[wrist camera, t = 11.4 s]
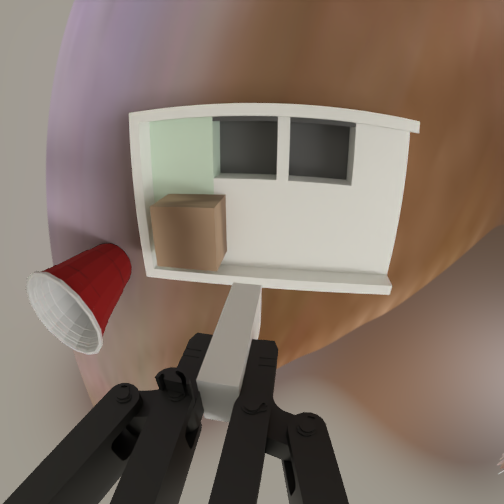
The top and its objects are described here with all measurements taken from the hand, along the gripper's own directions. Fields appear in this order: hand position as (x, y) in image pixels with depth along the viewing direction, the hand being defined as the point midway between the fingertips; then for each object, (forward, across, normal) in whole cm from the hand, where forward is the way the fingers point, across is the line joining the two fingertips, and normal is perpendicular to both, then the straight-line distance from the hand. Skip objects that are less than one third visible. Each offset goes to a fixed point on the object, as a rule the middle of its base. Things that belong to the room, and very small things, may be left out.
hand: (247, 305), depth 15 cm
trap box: (+15, 0, -3) cm, 15 cm away
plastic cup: (+15, +20, +7) cm, 26 cm away
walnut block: (+12, +7, 0) cm, 14 cm away
